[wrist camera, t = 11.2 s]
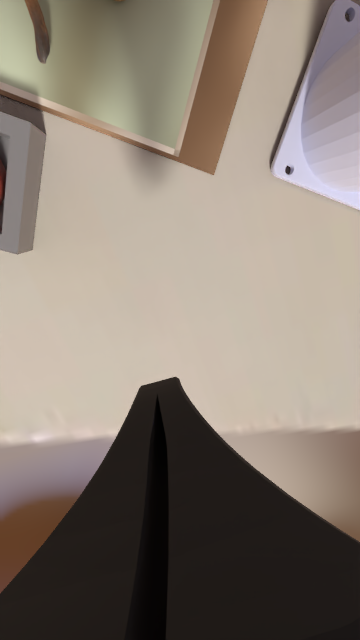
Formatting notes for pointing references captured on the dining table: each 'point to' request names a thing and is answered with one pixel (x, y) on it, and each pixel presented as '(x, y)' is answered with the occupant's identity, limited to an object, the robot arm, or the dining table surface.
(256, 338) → the dining table surface
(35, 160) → the button housing
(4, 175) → the button
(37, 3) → the lion figurine
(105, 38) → the picture sheet
